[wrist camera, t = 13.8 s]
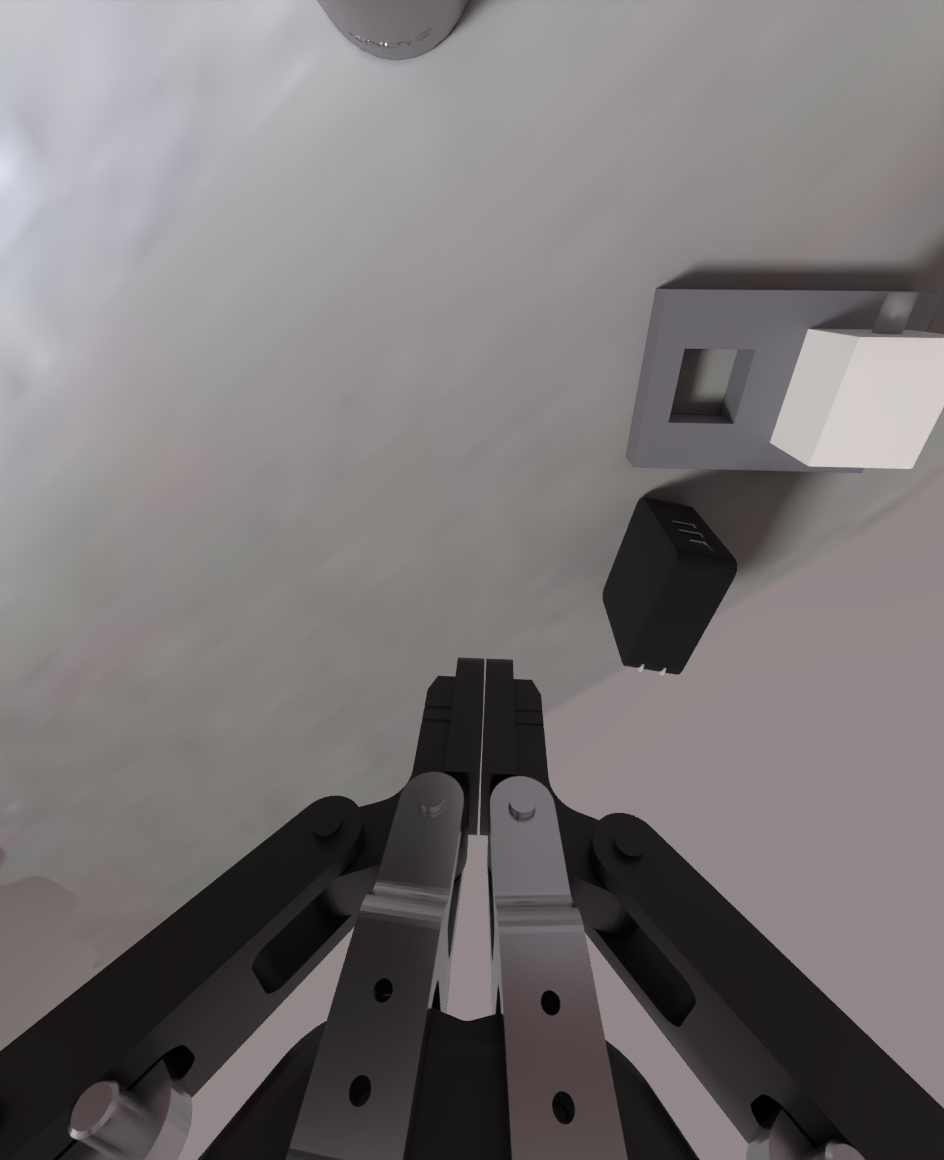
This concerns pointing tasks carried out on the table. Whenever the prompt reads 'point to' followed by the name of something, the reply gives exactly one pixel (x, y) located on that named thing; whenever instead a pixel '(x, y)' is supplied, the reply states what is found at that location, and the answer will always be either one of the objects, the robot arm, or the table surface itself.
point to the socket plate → (739, 370)
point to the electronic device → (665, 585)
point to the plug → (864, 393)
